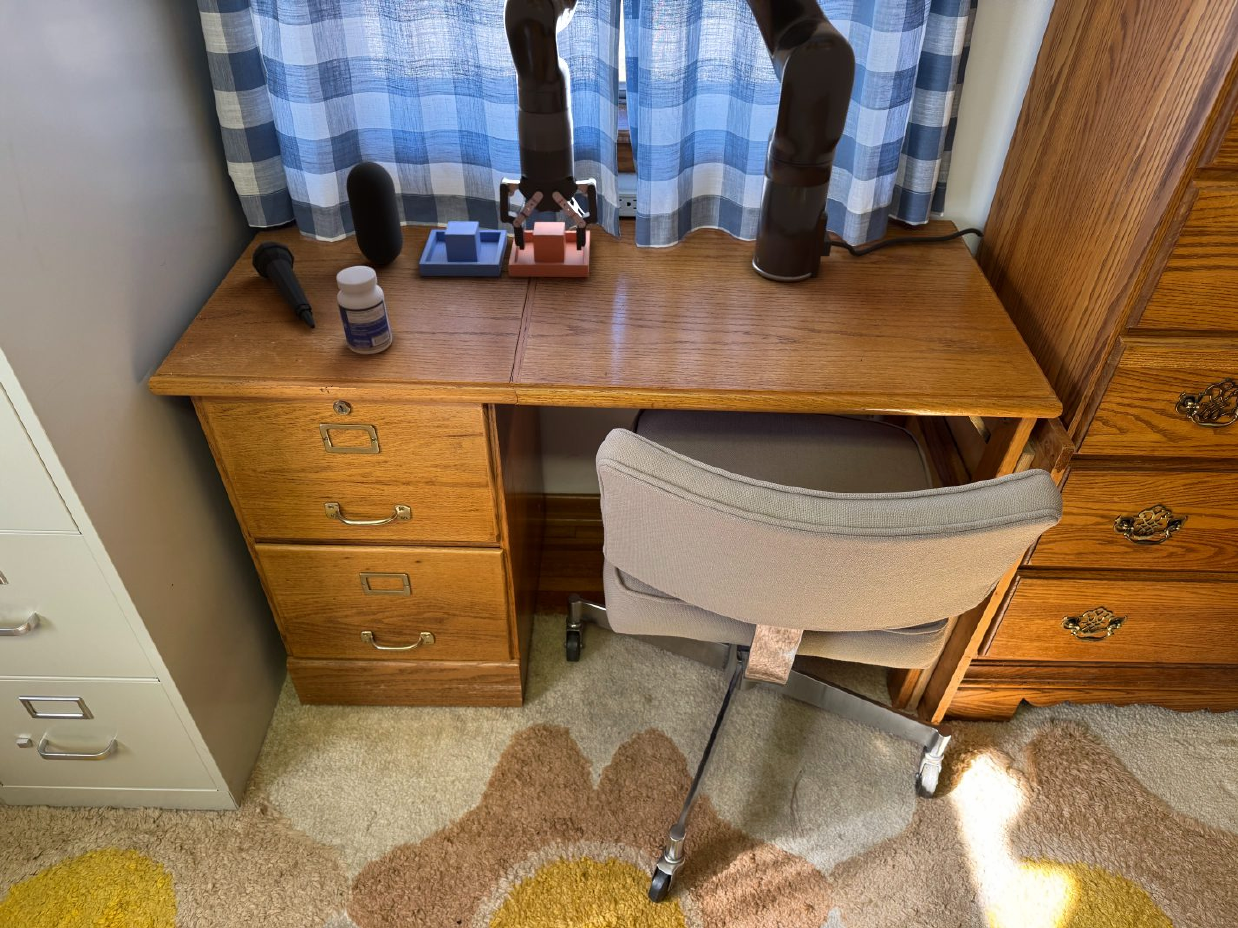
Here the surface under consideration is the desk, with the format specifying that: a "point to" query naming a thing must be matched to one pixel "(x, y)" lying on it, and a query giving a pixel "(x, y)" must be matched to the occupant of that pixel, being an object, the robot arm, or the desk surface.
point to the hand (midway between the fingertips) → (551, 248)
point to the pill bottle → (363, 310)
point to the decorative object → (374, 212)
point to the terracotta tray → (572, 267)
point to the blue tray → (487, 263)
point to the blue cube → (462, 241)
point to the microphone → (283, 277)
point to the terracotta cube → (549, 242)
